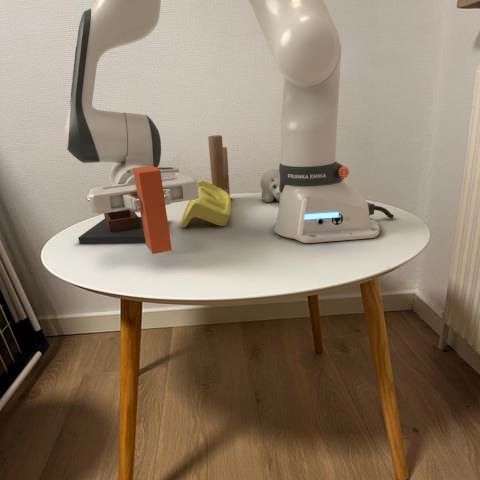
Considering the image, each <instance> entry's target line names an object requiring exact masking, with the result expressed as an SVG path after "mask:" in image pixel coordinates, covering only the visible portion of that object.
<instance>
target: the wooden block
mask: <svg viewBox="0 0 480 480" xmlns="http://www.w3.org/2000/svg"><path fill="white" fill-rule="evenodd" d="M207 141H208V153H209V164H210V166H209V167H210V177H211V184H213V185H215V186H216V187H219V188H221V189H223V190H224V191H226V192H227V193H228V194H229V195H230V196H231V192H230V179H229V177H230V176H229V161H228V147H226V146H223V136H222V135H219V134H215V135H214V134H213V135H209V136H208V137H207Z"/></svg>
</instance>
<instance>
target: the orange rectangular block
mask: <svg viewBox="0 0 480 480" xmlns="http://www.w3.org/2000/svg"><path fill="white" fill-rule="evenodd" d="M157 168H158V167H157ZM157 168H156V167H154V166H145V167H137V168H133V172H134V178H135V184H136V189H137V195H138V197H140V198H141V201H142V206H143V208H142V209H140V212H139V213H140V217H141V218H142V224H143V230H144V236H145V242H146V243H145V245H146V247H147V248H148V250H149V251H150V253H151V254H152V255H154V254H155V255H156V254H160V253H166V252H167V253H168V252H172V251H173V249H172V242H171V236H170V229H169V219H168V215H167V205H165V199H164V192H163V185H162V178H161V171H160V170H159V169H157ZM167 219H168V220H167Z"/></svg>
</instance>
